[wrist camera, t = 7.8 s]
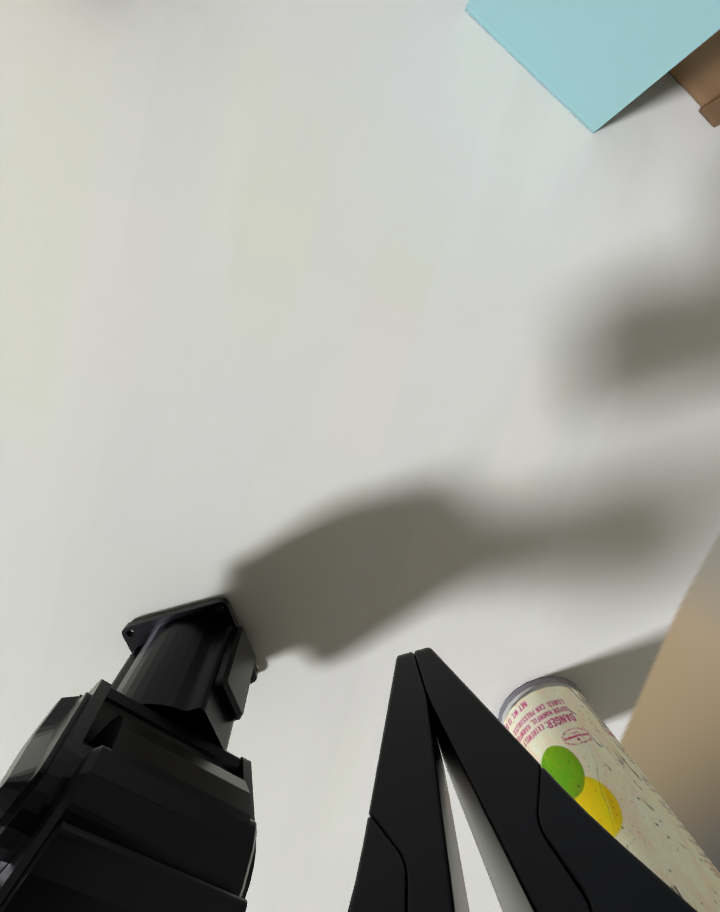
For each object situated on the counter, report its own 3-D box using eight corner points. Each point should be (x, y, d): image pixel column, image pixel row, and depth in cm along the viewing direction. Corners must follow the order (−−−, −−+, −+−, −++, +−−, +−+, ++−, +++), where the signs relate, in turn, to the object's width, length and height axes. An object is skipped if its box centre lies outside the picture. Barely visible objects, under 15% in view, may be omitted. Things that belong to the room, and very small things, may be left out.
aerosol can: (530, 666, 26) (1078, 1483, 7) (599, 692, 28) (1209, 1431, 9) (481, 732, 28) (837, 1572, 9) (550, 754, 29) (985, 1516, 10)
